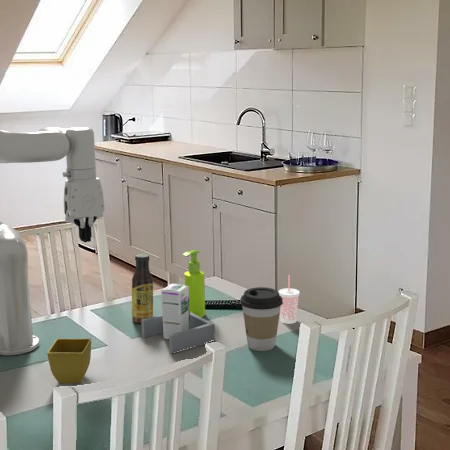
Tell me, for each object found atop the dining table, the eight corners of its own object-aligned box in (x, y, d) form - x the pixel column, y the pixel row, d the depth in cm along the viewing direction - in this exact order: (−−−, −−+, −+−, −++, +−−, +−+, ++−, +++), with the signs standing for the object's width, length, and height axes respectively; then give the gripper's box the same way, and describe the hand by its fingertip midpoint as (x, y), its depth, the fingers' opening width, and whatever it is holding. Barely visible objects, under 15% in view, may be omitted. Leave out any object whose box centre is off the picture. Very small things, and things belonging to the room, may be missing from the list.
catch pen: (172, 354, 190) (171, 336, 189) (142, 336, 202) (141, 319, 201) (214, 341, 199) (214, 323, 197) (183, 324, 210) (183, 308, 209)
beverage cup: (288, 326, 208) (288, 279, 205) (273, 320, 213) (274, 274, 210) (303, 321, 212) (304, 275, 209) (289, 315, 217) (289, 270, 213)
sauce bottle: (137, 326, 210) (134, 259, 205) (128, 319, 215) (125, 254, 210) (157, 321, 213) (155, 256, 208) (148, 315, 218) (146, 251, 214)
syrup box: (182, 342, 198) (180, 291, 195) (162, 338, 200) (160, 288, 197) (190, 334, 203) (189, 285, 200) (171, 331, 206) (170, 282, 202)
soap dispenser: (178, 316, 217) (177, 251, 212) (194, 310, 222) (193, 246, 217) (193, 320, 213) (191, 255, 209) (209, 314, 218) (208, 250, 214)
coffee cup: (240, 337, 201) (240, 285, 197) (282, 337, 200) (282, 285, 197) (239, 354, 190) (239, 299, 186) (283, 354, 189) (283, 300, 186)
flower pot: (48, 387, 172) (46, 352, 170) (58, 371, 181) (56, 337, 179) (85, 388, 172) (83, 352, 170) (93, 372, 180) (91, 338, 178)
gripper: (61, 179, 186) (66, 248, 190) (113, 172, 195) (116, 239, 199) (49, 175, 192) (54, 242, 196) (100, 169, 201) (103, 234, 205)
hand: (85, 240), depth 198 cm, fingers closed
